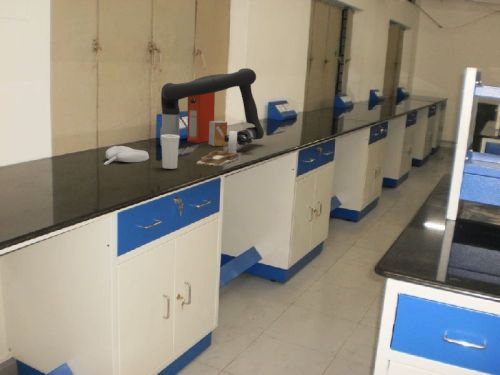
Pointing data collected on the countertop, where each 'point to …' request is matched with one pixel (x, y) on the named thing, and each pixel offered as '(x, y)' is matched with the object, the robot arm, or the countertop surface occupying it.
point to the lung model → (125, 154)
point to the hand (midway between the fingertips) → (233, 140)
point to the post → (232, 141)
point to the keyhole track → (218, 158)
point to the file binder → (200, 117)
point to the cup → (170, 150)
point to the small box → (217, 133)
